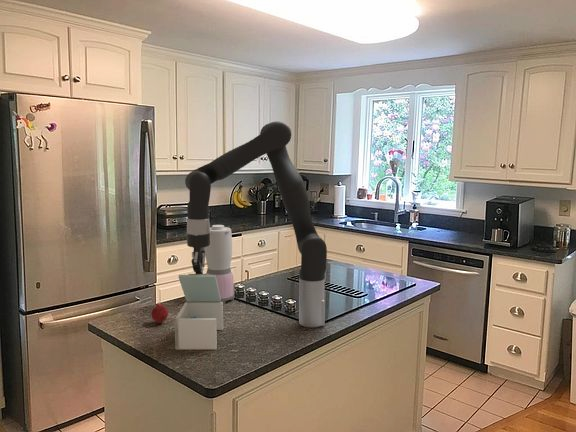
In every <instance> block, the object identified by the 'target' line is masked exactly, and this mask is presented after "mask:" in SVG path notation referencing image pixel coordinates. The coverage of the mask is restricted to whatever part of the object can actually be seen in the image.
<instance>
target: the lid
mask: <svg viewBox="0 0 576 432" xmlns="http://www.w3.org/2000/svg"><path fill="white" fill-rule="evenodd" d="M178 281H179V283H180V286H181V289H182V291H183V295H184V298H185V302H221V298H220V294H219V289H218V284H217V279H216V275H207V274H206V273H203V274H195V273H188V274H178Z"/></svg>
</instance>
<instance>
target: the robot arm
mask: <svg viewBox="0 0 576 432" xmlns="http://www.w3.org/2000/svg"><path fill="white" fill-rule="evenodd" d="M291 138H292V129H291V128H290V126H289V125H288V124H287V123H285V122H283V121H278V120H277V121H276V120H275V121H271V122H269V123H267V124H265V125H263V126H262V127H261V129H260V132H259V134H258V135H257V136H256V137H254V138H252V139H250V140H249V141H247V142H245V143H243V144H241V145H239V146H237V147H235V148H232V149H230V150H228V151H227V152H225V153H223V154H222V155H220V156H218V157H216V158H215V159H213V160H212V161H211V162H209V163H207V164H203V165H202V166H199V167H198V168H196V169H194V170H192V171H191V172H188V174H187V175H186V177H185V179H184V183H185V186H186V188H187V189H188V190H189V201H188V203H187V208H186V209H187V210H186V211H187V213H186V214H187V221H186V245H187V247H189V248H192V249H193V251H192V252H191V258H192V259H191V266H192V270H193V272H194V274H204V273H203V272H204V270H205V267H206V266H205V263H206V256H205V255H206V251H204V247H207V246H209V245H210V228H211V223H210V206H209V205H210V197H211V192H212V191H211V190H212V188H211V186H212V184H213V183H215V182H217V181H222V180H224V179H226V178H228V177H229V176H231V175H233V174H234V173H236V172H237V171H239V170H241V169H242V168H244V167H245V166H247V165H248V164H250V163H252V162H253V161H255V160H257V159H259V158H260V157H262V156H264V155H266V156H267V159H268V161H269V163H270V165H271V169H272V173H273V176H274V178H275V182H276V184H277V188H278V192H279V194H280V197H281V200H282V203H283V205H284V209H285V211H286V213H287V215H288V218H289V220H290V221H291V224H292V227H293V230H294V235H295V239H296V244H297V248H298V251H299V253H300V254H301V258H300V260H301V262H300V264H301V265H300V270H299V272H298V275H299V276H298V277H299V278H298V279H299V281H298V282H299V283H298V284H299V287H298V289H299V291H298V292H299V293H298V324H299V325H300V326H303V327H305V328H319V327H325V325H326V324H325V323H326V322H325V315H326V314H325V310H326V308H325V307H326V304H325V303H326V301H325V300H326V299H325V281H326V279H325V275H326V271H327V261H328V260H327V259H328V258H327V257H328V252H327V251H328V248H327V244H326V242H325V241H324V240H323V238H322V237H321V236H319V234H318V231H317V229H316V227H315V225H314V222H313V219H312V214H311V206H310V198H309V195H308V192H307V189H306V185H305V181H304V180H303V178H302V176H301V174H300V172H299V171H298V169H297V168H296V166H295V165H294V164H293V162H292V160H291V158H290V156H289V152H288V149H287V145H288V144H289V142H291V140H292V139H291Z"/></svg>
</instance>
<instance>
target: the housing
mask: <svg viewBox="0 0 576 432" xmlns="http://www.w3.org/2000/svg"><path fill="white" fill-rule="evenodd" d="M223 307H224V304H223V302H187V301H185V302H184V304H183V306H182V307H181V308H180V310H179V312H178V313H177V315H176V317H175V318H174V319H173V320H174V344H175V345H174V347H175V348H174V349H175V350H217V349H218V344H217V341H218V340H217V339H218V337H217V335H218V333H217V331H223V330H224V308H223ZM191 317H197V318H191Z"/></svg>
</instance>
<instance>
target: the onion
mask: <svg viewBox="0 0 576 432" xmlns="http://www.w3.org/2000/svg"><path fill="white" fill-rule="evenodd" d="M168 315H169V311H168V309H167V307H166V306H165V305H164V304H162V303H161V302H160V301H158V302H157V304H156V306H154V307H153V309H152V310H151V314H150V316H151V318H152V320H154V321H155V322H156V323H157V324H161V323H163V322H165V321H166V320H167V318H168Z"/></svg>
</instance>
